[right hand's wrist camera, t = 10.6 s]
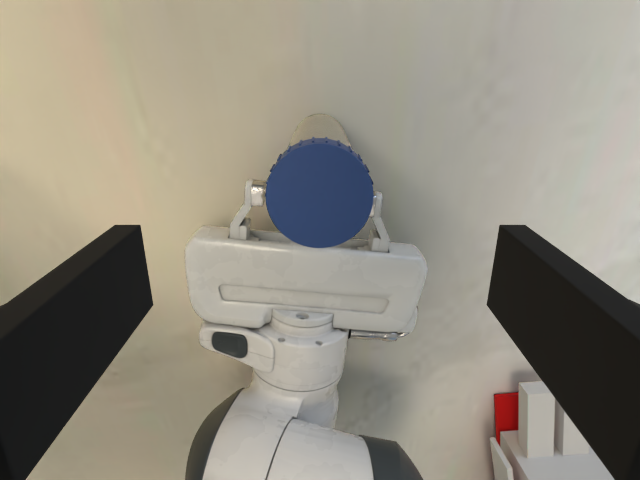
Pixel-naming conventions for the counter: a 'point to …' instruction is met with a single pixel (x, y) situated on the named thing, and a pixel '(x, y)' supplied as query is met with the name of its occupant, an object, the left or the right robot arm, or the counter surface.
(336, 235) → the lid
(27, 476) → the right robot arm
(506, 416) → the toy
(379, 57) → the counter surface
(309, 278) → the left robot arm
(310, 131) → the grey long cylinder
